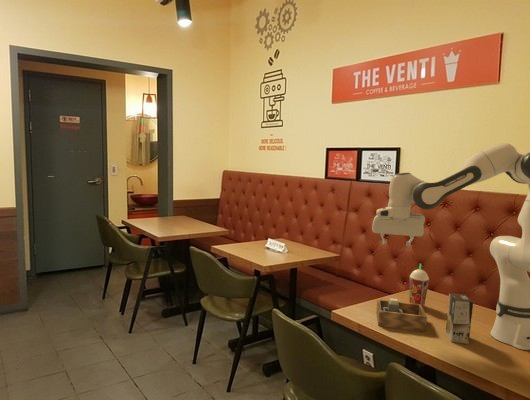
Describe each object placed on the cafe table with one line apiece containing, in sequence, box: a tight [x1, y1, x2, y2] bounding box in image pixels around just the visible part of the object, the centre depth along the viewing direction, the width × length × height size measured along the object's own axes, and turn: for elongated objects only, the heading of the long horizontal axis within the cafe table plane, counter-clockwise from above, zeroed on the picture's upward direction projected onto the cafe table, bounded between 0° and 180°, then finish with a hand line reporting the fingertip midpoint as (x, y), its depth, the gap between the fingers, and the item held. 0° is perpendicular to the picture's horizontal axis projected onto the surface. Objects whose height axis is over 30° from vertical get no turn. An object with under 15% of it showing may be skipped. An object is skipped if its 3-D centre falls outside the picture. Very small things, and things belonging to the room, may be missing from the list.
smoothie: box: [408, 263, 430, 308], centre depth 183 cm, size 8×8×20 cm
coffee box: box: [445, 292, 474, 345], centre depth 151 cm, size 9×6×16 cm
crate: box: [375, 299, 428, 332], centre depth 164 cm, size 18×14×6 cm
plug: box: [387, 297, 399, 313], centre depth 165 cm, size 4×4×8 cm
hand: (396, 245), depth 164 cm, fingers open, 8 cm apart
